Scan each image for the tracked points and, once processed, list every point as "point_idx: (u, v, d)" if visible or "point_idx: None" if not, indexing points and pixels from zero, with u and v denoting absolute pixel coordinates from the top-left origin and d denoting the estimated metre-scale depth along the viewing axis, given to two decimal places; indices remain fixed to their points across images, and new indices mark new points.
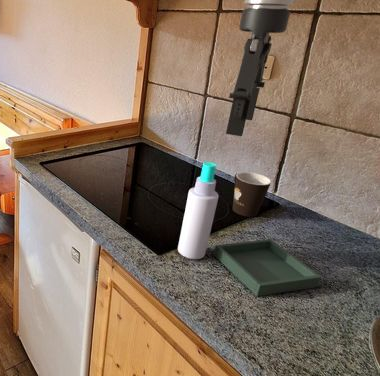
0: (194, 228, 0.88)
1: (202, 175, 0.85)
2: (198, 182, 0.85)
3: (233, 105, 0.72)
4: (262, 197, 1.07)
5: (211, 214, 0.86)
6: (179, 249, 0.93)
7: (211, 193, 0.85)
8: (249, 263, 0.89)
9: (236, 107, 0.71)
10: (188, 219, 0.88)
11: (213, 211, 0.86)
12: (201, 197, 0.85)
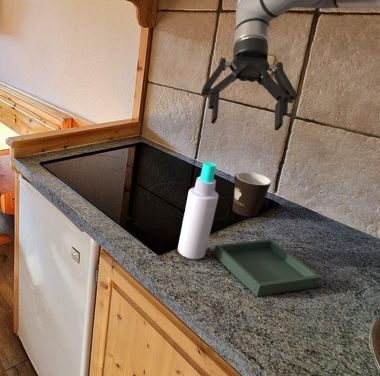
0: (194, 228, 0.88)
1: (202, 175, 0.85)
2: (198, 182, 0.85)
3: None
4: (262, 197, 1.07)
5: (210, 214, 0.86)
6: (179, 249, 0.93)
7: (211, 193, 0.85)
8: (249, 263, 0.89)
9: (208, 101, 0.95)
10: (188, 219, 0.88)
11: (213, 211, 0.86)
12: (201, 197, 0.85)
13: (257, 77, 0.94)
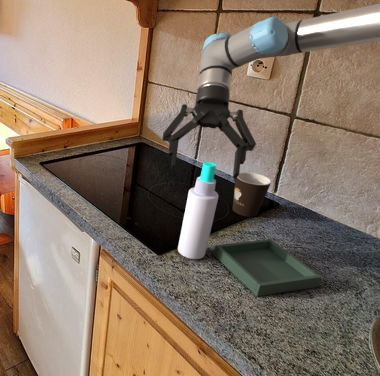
0: (194, 228, 0.88)
1: (202, 175, 0.85)
2: (198, 182, 0.85)
3: None
4: (262, 197, 1.07)
5: (210, 214, 0.86)
6: (179, 249, 0.93)
7: (211, 193, 0.85)
8: (249, 263, 0.89)
9: None
10: (188, 219, 0.88)
11: (213, 211, 0.86)
12: (201, 197, 0.85)
13: (217, 124, 0.95)
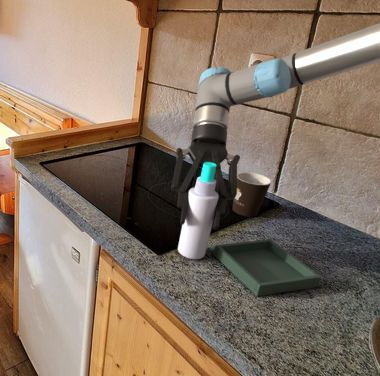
0: (194, 228, 0.88)
1: (202, 175, 0.85)
2: (198, 182, 0.85)
3: None
4: (262, 197, 1.07)
5: (211, 214, 0.86)
6: (179, 249, 0.93)
7: (211, 193, 0.85)
8: (249, 263, 0.89)
9: (178, 199, 0.90)
10: (188, 219, 0.88)
11: (213, 211, 0.86)
12: (201, 197, 0.85)
13: None
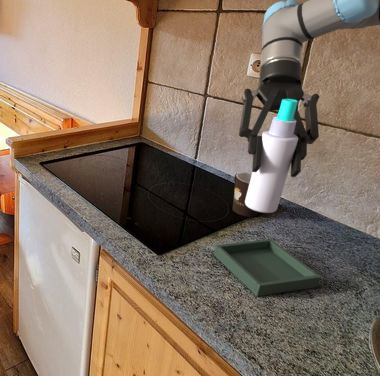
0: (268, 175, 0.77)
1: (280, 113, 0.75)
2: (275, 122, 0.75)
3: None
4: None
5: (289, 159, 0.76)
6: (247, 202, 0.82)
7: (291, 134, 0.75)
8: (249, 263, 0.89)
9: (248, 144, 0.79)
10: (261, 166, 0.78)
11: (292, 155, 0.76)
12: (280, 138, 0.74)
13: None
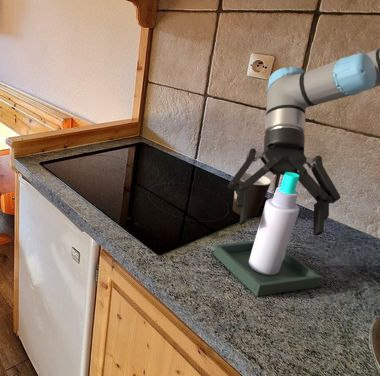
0: (271, 242, 0.82)
1: (283, 186, 0.79)
2: (278, 194, 0.80)
3: None
4: (262, 197, 1.07)
5: (291, 228, 0.80)
6: (251, 264, 0.87)
7: (292, 205, 0.79)
8: None
9: None
10: (264, 233, 0.83)
11: (293, 224, 0.81)
12: (282, 210, 0.79)
13: (292, 172, 0.84)
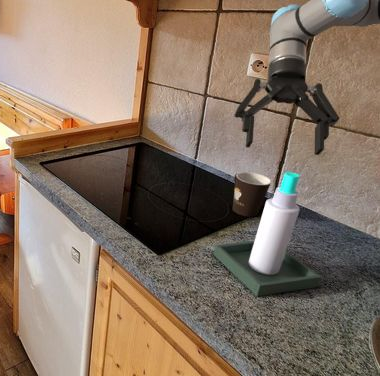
0: (271, 242, 0.82)
1: (283, 186, 0.79)
2: (278, 194, 0.80)
3: None
4: (262, 197, 1.07)
5: (291, 228, 0.80)
6: (251, 264, 0.87)
7: (293, 205, 0.79)
8: None
9: (242, 124, 0.91)
10: (265, 233, 0.83)
11: (293, 224, 0.81)
12: (282, 210, 0.79)
13: (295, 99, 0.90)
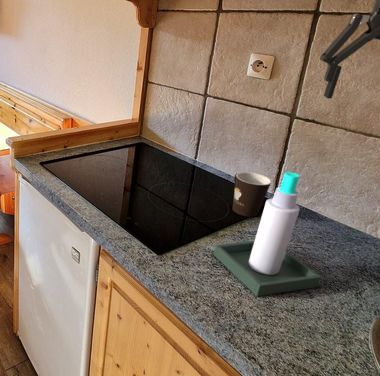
0: (271, 242, 0.82)
1: (283, 186, 0.79)
2: (278, 193, 0.80)
3: None
4: (262, 197, 1.07)
5: (291, 228, 0.80)
6: (251, 264, 0.87)
7: (293, 205, 0.79)
8: None
9: (326, 71, 0.85)
10: (265, 233, 0.83)
11: (293, 224, 0.81)
12: (282, 210, 0.79)
13: None
